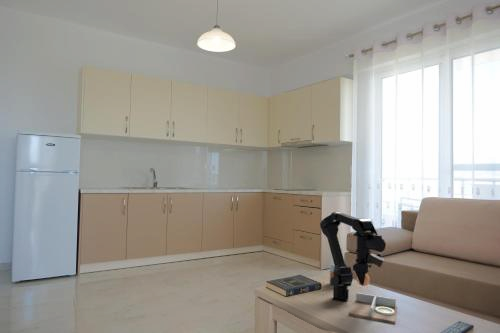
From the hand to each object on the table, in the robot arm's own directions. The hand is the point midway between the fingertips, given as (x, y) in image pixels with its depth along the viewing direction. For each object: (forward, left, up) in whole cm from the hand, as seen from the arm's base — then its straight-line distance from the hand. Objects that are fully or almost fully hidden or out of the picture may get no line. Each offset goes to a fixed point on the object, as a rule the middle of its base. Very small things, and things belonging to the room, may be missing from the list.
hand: (363, 283), depth 150 cm
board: (+4, 0, -12) cm, 13 cm away
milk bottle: (-18, +32, -12) cm, 38 cm away
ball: (0, 0, +2) cm, 2 cm away
